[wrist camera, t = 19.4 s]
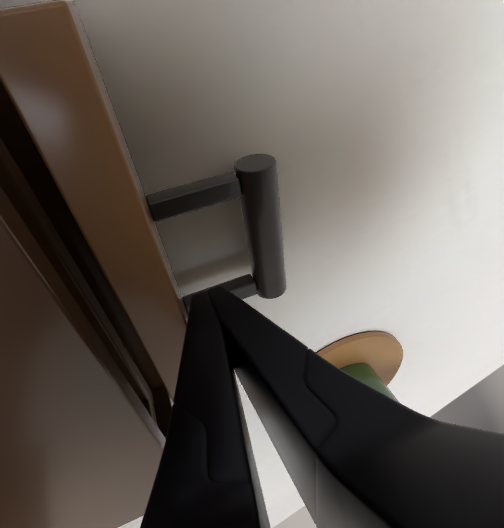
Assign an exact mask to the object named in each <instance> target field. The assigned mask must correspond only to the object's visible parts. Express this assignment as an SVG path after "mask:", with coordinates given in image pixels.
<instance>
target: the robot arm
mask: <svg viewBox="0 0 504 528" xmlns="http://www.w3.org/2000/svg"><path fill="white" fill-rule="evenodd" d="M234 370H235V372H236V374H237V376H238V378H239V380H240V382H241V384H242V386H243V387H244V389H245V391H246V393H247V395H248V397H249V399H250V401H251V403H252V405H253V407H254V408H255V410H256V412H257V414H258V416H259V418H260V420H261V422H262V424H263V426H264V427H265V429H266V431H267V433H268V435H269V437H270V439H271V441H272V443H273V445H274V446H275V448H276V450H277V452H278V454H279V456H280V458H281V460H282V462H283V464H284V466H285V467H286V469H287V471H288V473H289V475H290V477H291V479H292V481H293V483H294V485H295V486H296V488H297V490H298V492H299V494H300V496H301V498H302V500H303V502H304V504H305V505H306V507H307V509H308V511H309V513H310V515H311V517H312V519H313V520H314V523H315V524H316V526H317V528H504V434H503V433H498V432H492V431H487V430H482V429H477V428H472V427H466V426H461V425H456V424H451V423H446V422H442V421H438V420H435V419H432V418H430V417H427V416H424V415H422V414H420V413H418V412H415V411H414V410H412V409H410V408H408V407H406V406H404V405H402V404H401V403H399V402H397V401H395V400H393V399H392V398H390V397H388V396H386V395H384V394H383V393H381V392H379V391H377V390H375V389H374V388H372V387H370V386H368V385H366V384H365V383H363V382H361V381H359V380H358V379H356V378H354V377H352V376H351V375H349V374H347V373H346V372H344V371H342V370H341V369H339V368H337V367H336V366H334V365H333V364H331V363H330V362H328V361H327V360H325V359H324V358H322V357H321V356H320V355H318V354H317V353H315V352H314V351H313V350H311V349H308V347H307V346H305V345H304V344H303V343H301V342H300V341H298V340H297V339H296V338H294V337H293V336H292V335H290V334H289V333H287V332H286V331H285V330H283V329H282V328H280V327H279V326H278V325H276V324H275V323H273V322H272V321H271V320H269V319H268V318H266V317H265V316H264V315H262V314H261V313H259V312H258V311H257V310H255V309H254V308H252V307H251V306H250V305H248V304H247V303H245V302H244V301H243V300H241V299H240V298H238V297H237V296H236V295H234V294H233V293H232V292H230V291H229V290H227V289H226V288H225V287H223V286H222V285H216V286H214V287H211V288H208V289H207V290H202V291H199V292H196V293H194V294H193V295H192V298H191V303H190V309H189V315H188V320H187V326H186V332H185V337H184V343H183V349H182V355H181V360H180V366H179V372H178V377H177V383H176V389H175V394H174V400H173V403H174V404H173V405H172V411H171V416H170V422H169V426H168V431H167V436H166V441H165V445H164V449H163V452H162V456H161V460H160V463H159V467H158V470H157V474H156V477H155V480H154V484H153V487H152V490H151V493H150V497H149V500H148V503H147V507H146V510H145V513H144V517H143V520H142V523H141V527H140V528H270V524H269V520H268V515H267V511H266V507H265V502H264V498H263V494H262V489H261V485H260V481H259V476H258V472H257V468H256V463H255V459H254V455H253V450H252V446H251V441H250V437H249V433H248V428H247V424H246V420H245V415H244V411H243V407H242V402H241V398H240V394H239V389H238V385H237V381H236V376H235V372H234Z"/></svg>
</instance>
